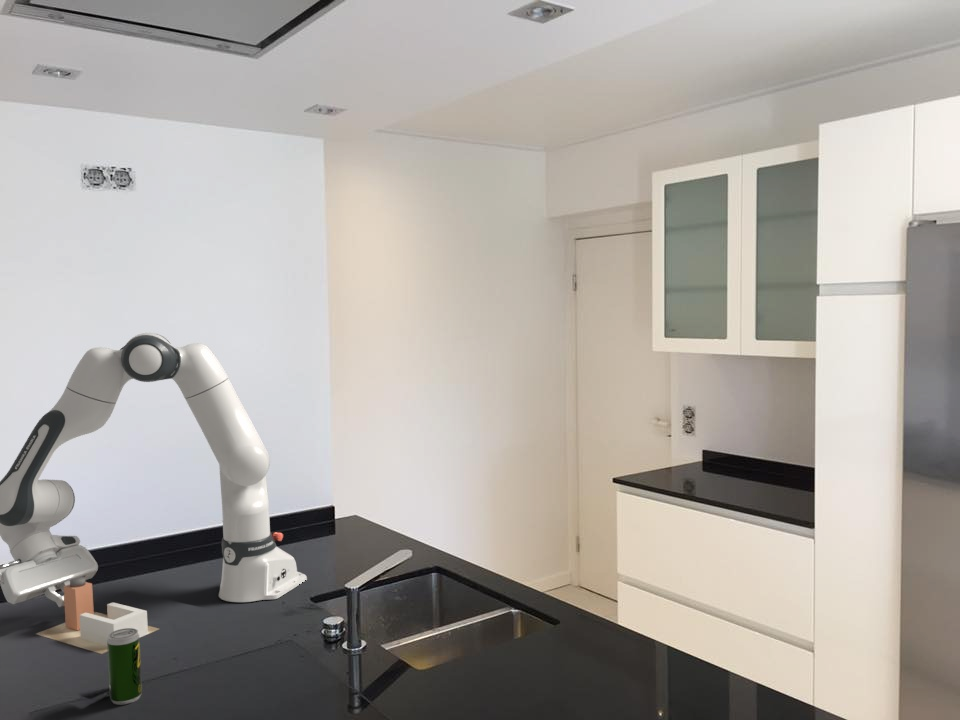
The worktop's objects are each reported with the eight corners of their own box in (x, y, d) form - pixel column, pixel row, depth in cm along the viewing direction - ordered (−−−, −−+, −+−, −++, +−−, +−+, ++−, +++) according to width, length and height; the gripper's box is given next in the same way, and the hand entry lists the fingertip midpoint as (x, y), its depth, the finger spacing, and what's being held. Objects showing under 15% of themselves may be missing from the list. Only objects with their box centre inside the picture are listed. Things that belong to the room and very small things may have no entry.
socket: (114, 624, 177) (113, 602, 177) (148, 633, 172) (146, 610, 172) (80, 638, 170) (79, 614, 170) (114, 648, 165) (113, 624, 165)
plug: (82, 620, 179) (80, 575, 179) (94, 623, 178) (91, 578, 177) (65, 627, 176) (63, 581, 175) (77, 630, 174) (74, 583, 173)
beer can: (112, 708, 143) (109, 642, 142) (107, 696, 147) (104, 632, 147) (145, 699, 146) (142, 634, 145) (139, 688, 150) (136, 625, 150)
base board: (94, 618, 185) (94, 611, 185) (160, 635, 175) (159, 628, 175) (35, 640, 173) (35, 633, 173) (101, 661, 162) (101, 653, 162)
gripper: (-4, 559, 173) (26, 611, 168) (84, 534, 190) (113, 581, 186) (-15, 576, 175) (15, 628, 171) (73, 550, 193) (101, 597, 189)
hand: (67, 603), depth 179 cm, fingers closed
